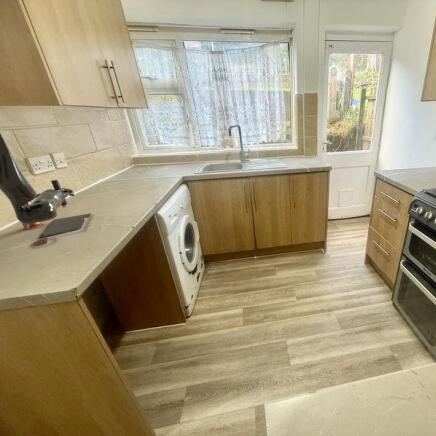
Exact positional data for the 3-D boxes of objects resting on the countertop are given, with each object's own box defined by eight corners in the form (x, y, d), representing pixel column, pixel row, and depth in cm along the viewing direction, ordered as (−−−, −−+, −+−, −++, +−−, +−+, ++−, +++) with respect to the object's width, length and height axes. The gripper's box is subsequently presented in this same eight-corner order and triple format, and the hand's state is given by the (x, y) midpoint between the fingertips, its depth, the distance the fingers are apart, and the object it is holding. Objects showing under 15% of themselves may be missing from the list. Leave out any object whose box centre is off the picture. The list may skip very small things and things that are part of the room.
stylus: (61, 207, 116) (50, 181, 111) (62, 206, 118) (51, 180, 113) (67, 206, 117) (56, 180, 112) (68, 205, 119) (58, 179, 114)
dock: (29, 248, 96) (28, 247, 95) (35, 241, 101) (34, 240, 101) (52, 244, 99) (51, 243, 98) (57, 237, 104) (56, 236, 104)
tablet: (39, 239, 103) (38, 237, 102) (54, 221, 120) (53, 219, 120) (83, 230, 109) (83, 228, 109) (91, 214, 127) (90, 213, 127)
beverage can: (22, 228, 114) (4, 198, 107) (39, 222, 119) (23, 193, 113) (29, 230, 111) (11, 199, 105) (46, 224, 117) (30, 194, 110)
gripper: (67, 189, 105) (76, 180, 118) (23, 194, 98) (37, 184, 112) (74, 205, 108) (81, 195, 121) (31, 211, 101) (44, 200, 115)
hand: (60, 190), depth 117 cm, fingers closed on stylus, 2 cm apart
